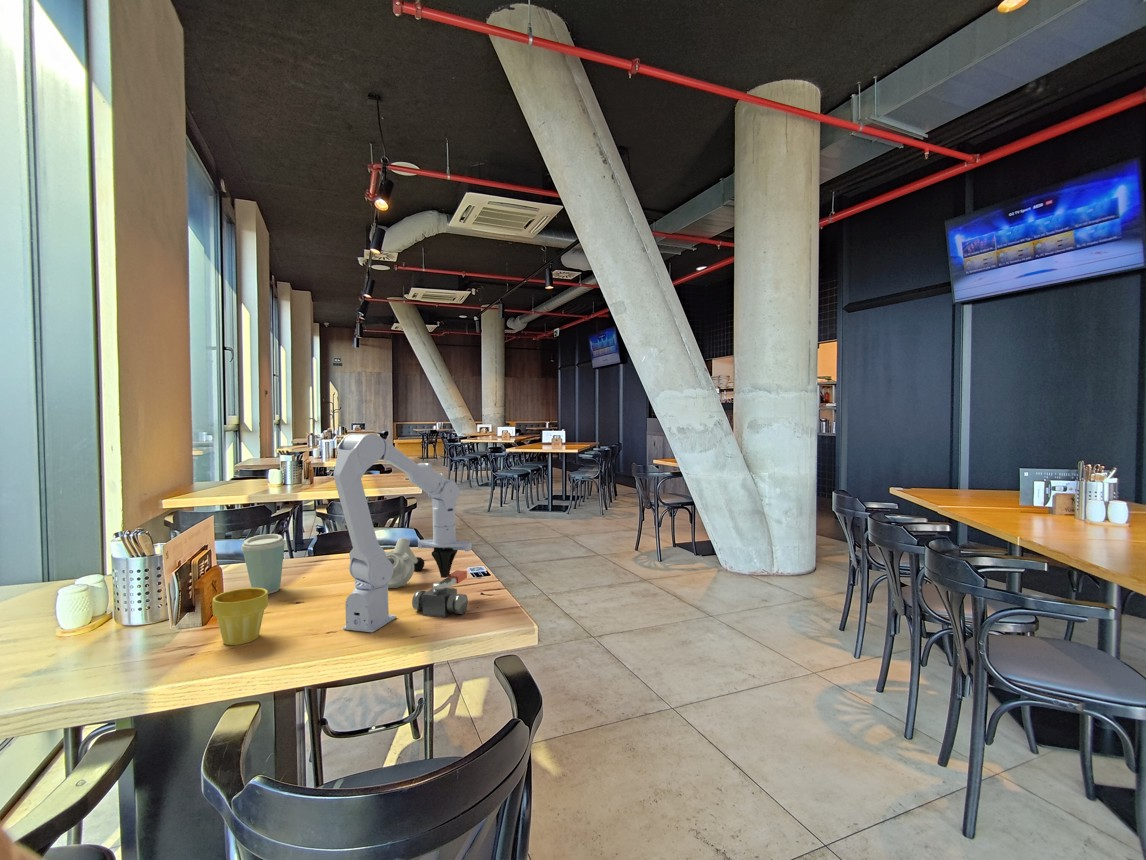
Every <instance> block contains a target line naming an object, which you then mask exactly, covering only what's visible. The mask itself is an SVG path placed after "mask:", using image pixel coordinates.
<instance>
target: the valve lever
mask: <svg viewBox="0 0 1146 860" xmlns="http://www.w3.org/2000/svg"><path fill="white" fill-rule="evenodd" d="M467 578H468V571H467V570H458V569H457V570H455V571H453V572H450V574H449V575H448V576H447V578H444V579H443V580H441V581H435V582H433V583H432V587H433V591H434V592H443V591H446V590H447V588H451V587H452V586H454V585H455V584H460V583H461V582H463V581H464V580H466V579H467Z"/></svg>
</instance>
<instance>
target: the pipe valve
mask: <svg viewBox="0 0 1146 860" xmlns="http://www.w3.org/2000/svg"><path fill="white" fill-rule="evenodd" d="M411 604H412V608H413V610H414V611H415V610H416V611H422V616H429V617H438V618H439V617H440V618H447V617H448V616H449V615H451V614H452V613H454V614H455V615H457V614H458V615H465V613H466V611H467V608H468V605H469V598H468V595H467V594H465V593H458V589H457V588H453V587H449V588H447V590H446V591H443V592H434V591H433V588H431V589H430V590H428V591H426V590H421V589H420V590H419V589H418V590H416V591H415V592H414V593H413V596H412V601H411Z"/></svg>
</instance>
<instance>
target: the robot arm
mask: <svg viewBox="0 0 1146 860" xmlns="http://www.w3.org/2000/svg"><path fill="white" fill-rule="evenodd" d="M336 451H337V457H336V461H335V465H334V469H333V479H334V480H333V481H334V484H335V486H336V490H337V494H338V498H339V502H340V505H341V509H342V513H343V516H344V520H345V523H346V524H345V525H346V527H347V530H348V534H349V535H348V536H349V538H350V541H351V542H350V543H351V545H352V549H351V550H350V552H349V553H348V554H349V559H350V561H349V562H350V563H349V568H348V570H349V574H350V576H351V577H352V578H353V579H354V587H353V591H352V592H351V593H350V594H349V595H348V596H347V598H346V600H345V625H344V626H342V629H343V630H349V631H354V632H355V631H356V632H363V633H365V632H366V633H374V632H375V631H378V630H379V629H381V628H382V627H383V626H385V625H387V624H388V623H390V622H392V621H393V620H394V619H396V618H397V615H396V614H390V613H389V611H390V610H389V609H390V608H389V588H388V582H389V581H390V580H391V578H392V576H393V571H394V569H393V565H392V563H391V562H390V561H389V560H388V559H387V557H386V553H385V552H386V551H385V550H384V548H382V546H381V545H380V543H379V542H378V539H377V535H376V534H377V533H376V530H375V527H374V524H373V520H372V516H371V512H370V507H369V504H368V501H367V497H366V493H365V490H364V485H363V481H362V477H363V476H364V474H365V473H366V472H367V470H369V469H370V468H371V467H372V466H373V465H374V464H376V463H377V462H378V461H379V460H382V461H384V462H386V463H388V464H389V465H391V466H393V467H395V468H396V469H398V470H400V471H401V472H403V473H404V474H407V475H408V480H409V483H411V484H413V485H414V486H415V487H417V488H419V489H420V490H421V491H423V492H425V493H426V494H427V496H428V498H429V499H431V500H432V501H431V502H432V537H433V538H432V539H420V540H418V541H417V549H433V551H431V556H432V558H433V559H434V561H435V562H436V565H437V567H438V571H439V575H440V578H442V579H443V578H444V579H446V578H447V576H448V575H449V574H451V570H452V569H451V568H452V565H453V562H454V560H455V558H456V555H457V553H458V551H464V552H470V551H471V550H472V549H473V545H472V541H471V542H470V541H463V540H457V537H456V536H457V533H456V529H457V528H456V506H457V500H458V498H459V496H460V492H461V489H460V488H459V487H458V485H457V483H456V481H454V480H452V479H447V478H446V477H445V476H446V475H445V474H444V473H441V472H440V473H439V472H438V471H437V470H435V469H434V468H432V467H433V465H432V464H431V463H427V462H426V463H425V462H419V463H416V462H415V461H414V460H412V459H411V458H410V457H409V456H407V455H406V454H404V453H403V452H402V451H401V450H400V449H398V448H397V447H396V446H394V445H393V444H392V443H391V442H389V440H387V439H385V438H383V437H381V436H380V435H378V434H376V433H369V434H367V433H365V434H364V433H355V432H352V433H349V434H348V433H347V434H346V435H345V436H344V437H343V438H342V439H341V441H340V442H339V444H338V445H337V446H336Z"/></svg>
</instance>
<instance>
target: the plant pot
mask: <svg viewBox="0 0 1146 860" xmlns="http://www.w3.org/2000/svg"><path fill="white" fill-rule="evenodd" d="M211 601H212V604H211V605H212V606H211V607H212V615H213V616H215V617H216V620H217V624H218V627H219V631H220V632H219V633H220V634H221V638H222V643H223V644H224V645H227V646H239V645H243V644H247V643H250V642H253V641H255V640H256V639H258V638H259V636H260V632H261V627H262V623H263V622H262V621H263V618H264V617H263V616H264V613H265V610H266V609H267V608H268V606H269V594H268V591H267V590H266V589H263V588H251V587H243V588H236V589H231V590H227V591H224V592H221V593H219V594H217V595H215V596H214V597H213V598H212V600H211Z"/></svg>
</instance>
